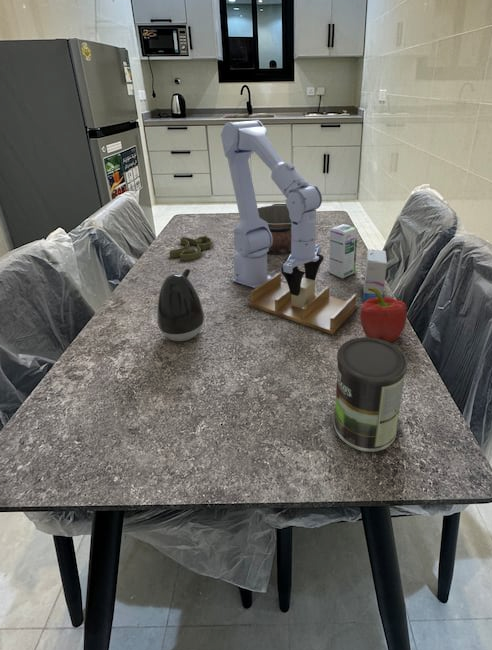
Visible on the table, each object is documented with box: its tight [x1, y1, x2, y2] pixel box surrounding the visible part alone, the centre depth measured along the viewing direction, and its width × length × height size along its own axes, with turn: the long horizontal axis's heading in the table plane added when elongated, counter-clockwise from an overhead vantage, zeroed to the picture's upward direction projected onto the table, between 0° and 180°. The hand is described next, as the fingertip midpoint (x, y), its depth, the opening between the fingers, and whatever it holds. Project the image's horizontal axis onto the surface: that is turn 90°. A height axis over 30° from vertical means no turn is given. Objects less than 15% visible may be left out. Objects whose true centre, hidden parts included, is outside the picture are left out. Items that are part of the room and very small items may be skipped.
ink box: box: [363, 248, 388, 303], centre depth 101 cm, size 9×5×12 cm, turn 168°
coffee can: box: [333, 336, 408, 453], centre depth 61 cm, size 10×10×14 cm
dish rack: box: [248, 272, 358, 336], centre depth 97 cm, size 24×14×4 cm, turn 56°
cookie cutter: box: [169, 235, 213, 261], centre depth 134 cm, size 18×12×2 cm, turn 175°
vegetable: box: [359, 287, 408, 343], centre depth 85 cm, size 11×10×10 cm
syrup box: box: [328, 223, 358, 279], centre depth 113 cm, size 6×6×14 cm
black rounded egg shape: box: [156, 268, 205, 342], centre depth 85 cm, size 10×10×15 cm
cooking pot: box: [249, 203, 291, 255], centre depth 137 cm, size 30×22×11 cm
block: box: [291, 276, 316, 308], centre depth 97 cm, size 4×5×6 cm
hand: (302, 287), depth 96 cm, fingers open, 7 cm apart
